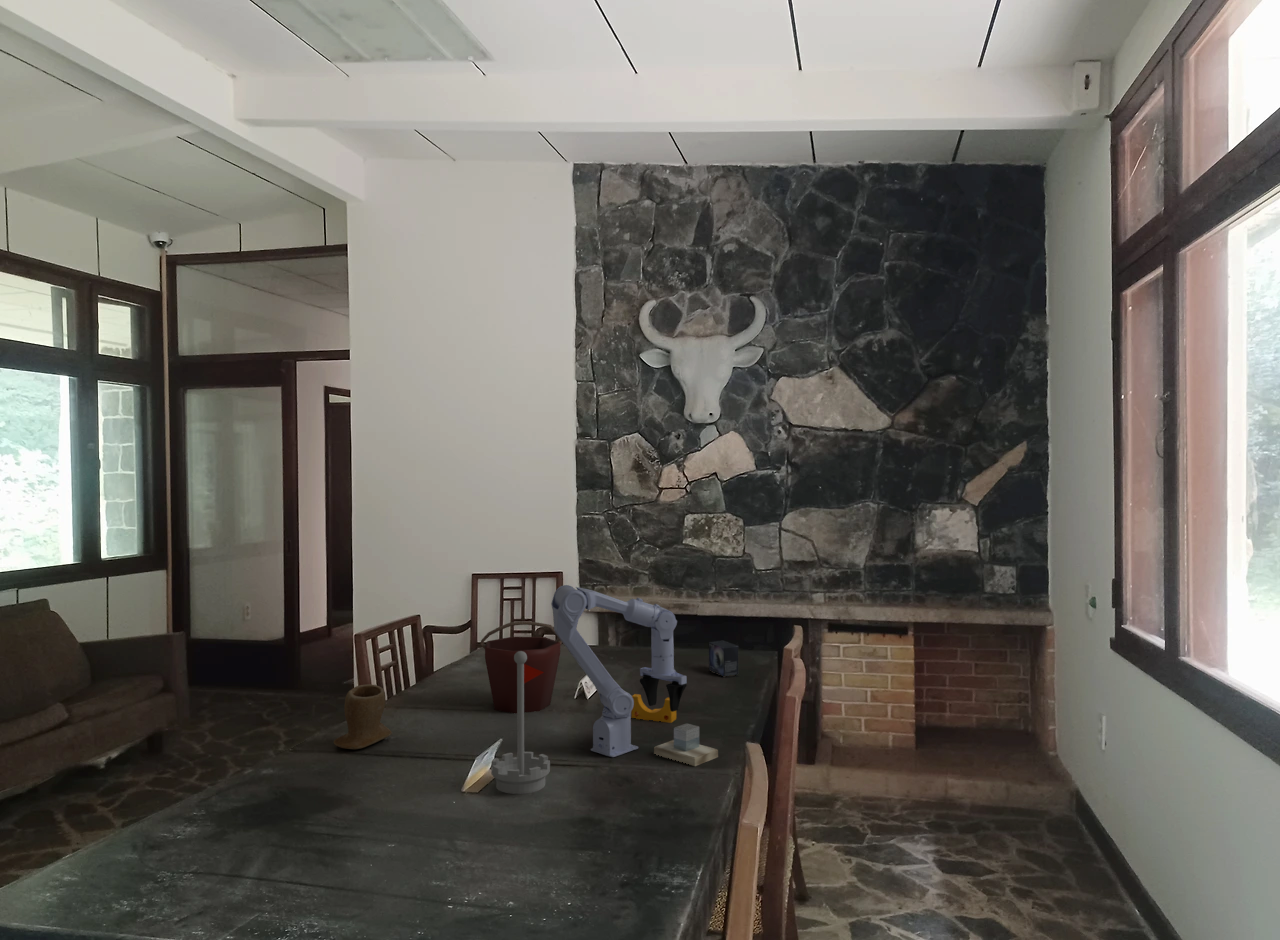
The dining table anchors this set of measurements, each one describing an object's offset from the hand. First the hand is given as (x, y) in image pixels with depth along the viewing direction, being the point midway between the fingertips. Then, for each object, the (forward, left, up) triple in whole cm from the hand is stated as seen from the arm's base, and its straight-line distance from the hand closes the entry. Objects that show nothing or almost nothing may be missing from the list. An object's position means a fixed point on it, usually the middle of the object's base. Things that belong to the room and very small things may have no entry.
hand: (663, 707), depth 224 cm
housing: (-3, -10, -7) cm, 13 cm away
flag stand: (-43, +5, -10) cm, 44 cm away
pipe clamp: (+16, +17, -10) cm, 25 cm away
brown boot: (-51, +57, -10) cm, 77 cm away
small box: (+72, +35, -10) cm, 81 cm away
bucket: (-1, +55, -10) cm, 56 cm away
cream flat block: (-3, -10, -9) cm, 14 cm away
